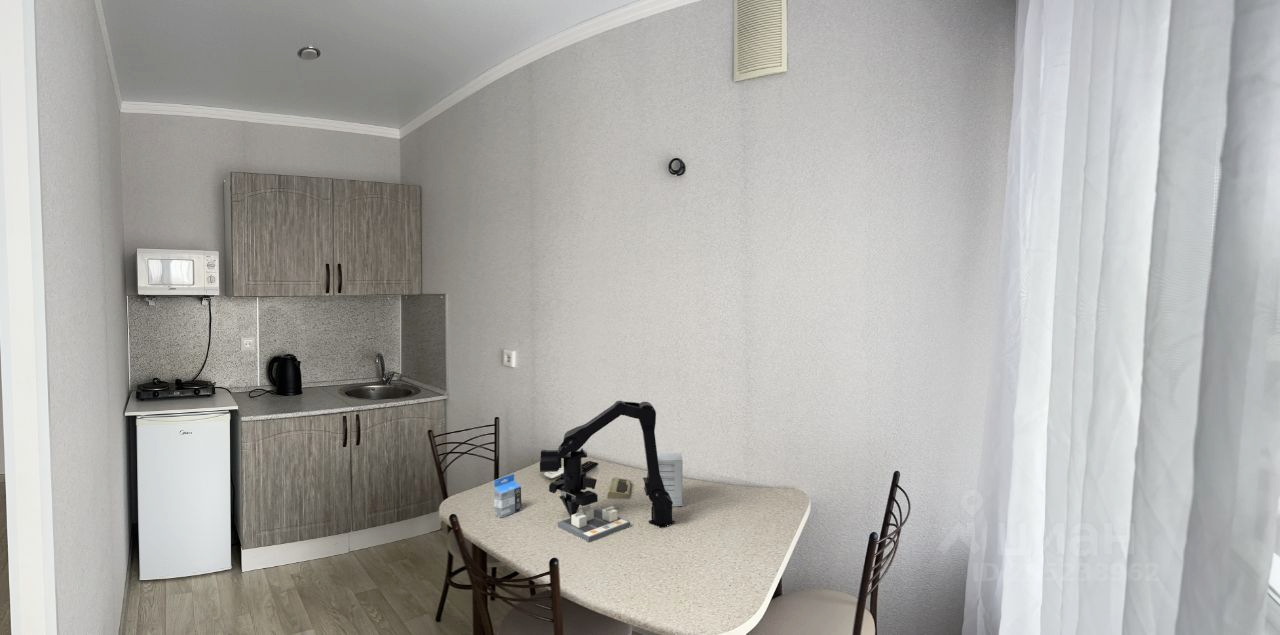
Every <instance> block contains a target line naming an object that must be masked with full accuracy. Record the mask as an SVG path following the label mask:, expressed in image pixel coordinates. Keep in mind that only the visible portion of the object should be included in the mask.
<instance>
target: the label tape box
mask: <svg viewBox="0 0 1280 635" xmlns="http://www.w3.org/2000/svg"><path fill="white" fill-rule="evenodd" d="M504 480H505V481H504ZM493 497H494V498H493V499H494V500H493V501H494V516H495V515H496V516H495V517H497V516H499V517H498V518H500V517H502V518H501V519H503V518H506V517H508V516H510V515H513V514H515V513H517V512H520V511H522V510H523V509H522V506H523V505H522V487H521V485H519V483H517V482H516V481H515V473H512V474H510V475H506V476H503V477H500V478H497V479H494V480H493ZM507 515H508V516H507ZM505 516H506V517H505Z"/></svg>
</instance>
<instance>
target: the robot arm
mask: <svg viewBox="0 0 1280 635" xmlns="http://www.w3.org/2000/svg"><path fill="white" fill-rule="evenodd" d="M621 416H626V417H628V418H632V419H638V423H639V425H640V428H641V431H642V436H643V437H642V438H643V446H644V452H645V453H644V454H645V460H646V470H647V475H646V477H645V476H644V477H642V480H643V482H644V487H643V490H644V493H645V496H646V497H648V499H649V501H650V502H651V508H650V509H651V510H650V511H651V512H650V513H651V516H650V517H651V518H650V519H649V520H648V524H652V525H653V524H654V526H656V525H657V526H656V527H658V526H659V527H658V528H661V527H664V528H666V527H668V526H667V525H669V526H671V525H673V524H672V523H674V522H675V523H676V520H674V519H673V507H672V505H673V502H672V500H671V497H670V495H669V493H668V492H667V491H666V490H665V488H664V485H663V482H662V479H661V476H660V472H659V464H658V456H657V453H658V451H657V450H658V449H657V442H656V434H655V429H656V421H657V412H656V409H655V408H654V406H653V405H652V403H650V401H642V402H636V401H635V402H634V401H624V400H617V401H615V403H614V404H612V405H610V406H609V407H608V408H606V409H605V410H603V411H602V412H601V413H599V414H598V415H596V416H594V417H593V418H592V419H590V420H589V421H588V422H586V423H584V424H582V425H579V426H576V427H574V428H571V429H569V430H567V431H566V432H565V433H564V435H563V441H562V442H561V443H560V445H559V446H558V448H557V450H556V449H555V450H553V449H552V450H549V449H548V450H547V449H541V450H540V461H539V472H540V473H552V472H553V473H554V472H556V473H557V472H559V471H560V469H562V466H563V473H561V474H560V477H561V478H563V479H560V480H556V481H552V482H551V483H550V484H549V486H548V492H550V493H552V494H556V493H557V490H559V491H560V493H561V495H560V496H559V499H560V500H561V502H562V504H563V506H564V507H565V509H566V511H567V513H568V515H569V518H571V515H573V514H576V513H578V512H579V508H580V506H581V507H585V506H588V505H592V504H594V503H597V502H598V501H599V498H598V497H599V496H598V494H597V493H596V492H594V491H592V490H595V488H596V485H597V481H598V479H597V478H594V477H591V476H588V475H587V473H586V472H584V471H582V470H583V469H582V467H583V466H582V458H583V459H584V458H588V452H587V451H585V450H584V448H583V446H584V445H585V444H586V443H587V442H588V440H589V439H590V438H591V437H592V436H593V435H595V434H596V433H597V432H598V431H600V430H602V429H603V428H605V427H606V426H607V425H609V424H610V423H612V422H613V421H615V420H617V419H618V418H619V417H621ZM562 459H563V461H562ZM562 462H563V465H562ZM587 488H588V489H592V490H587ZM675 523H674V524H675ZM670 524H671V525H670ZM665 526H666V527H665Z"/></svg>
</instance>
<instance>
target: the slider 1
mask: <svg viewBox="0 0 1280 635" xmlns="http://www.w3.org/2000/svg"><path fill="white" fill-rule="evenodd" d="M570 518H571V524H572V525H574V526H576V527H578V528H581V527H583V526H586V525H587V516H586V515H584V512H579V511H578V512H577V513H576V514H573V515H571V517H570Z"/></svg>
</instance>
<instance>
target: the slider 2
mask: <svg viewBox="0 0 1280 635" xmlns="http://www.w3.org/2000/svg"><path fill="white" fill-rule="evenodd" d="M601 510H602V519H604V520H606V521H609V522H612V521H615V520H617V517H618V510H617V509H615V506H608V507H606V508H603V509H601Z"/></svg>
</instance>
